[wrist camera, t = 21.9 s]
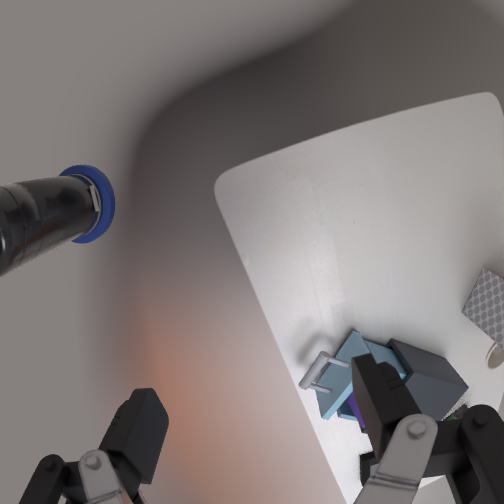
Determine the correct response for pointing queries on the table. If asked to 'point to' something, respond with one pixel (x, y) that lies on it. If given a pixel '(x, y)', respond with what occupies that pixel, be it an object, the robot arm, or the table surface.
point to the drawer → (344, 374)
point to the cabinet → (429, 380)
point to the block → (355, 409)
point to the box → (488, 306)
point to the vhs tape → (367, 466)
